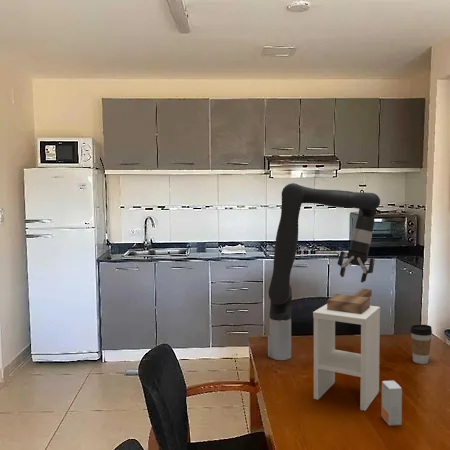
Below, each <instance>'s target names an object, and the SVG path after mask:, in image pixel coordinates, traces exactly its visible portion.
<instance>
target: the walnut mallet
mask: <svg viewBox="0 0 450 450" xmlns="http://www.w3.org/2000/svg"><path fill="white" fill-rule="evenodd" d="M372 293H373V291H372V289H370V288H361V289H360V290H359V291H357V292H355V293H354V294H351V295H348V294H342V293H341V294H338V293H336V294H335V295H332V296H331V297H329V298H328V299H327V301H326V304H327V310H334V311H341V312H349V313H356V314H362V313H363V312H365V311H366V310H367V309H368V308H370V306H371V297H372V295H373V294H372Z"/></svg>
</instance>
